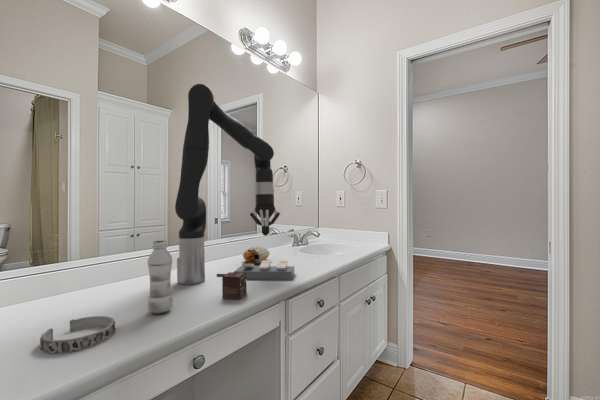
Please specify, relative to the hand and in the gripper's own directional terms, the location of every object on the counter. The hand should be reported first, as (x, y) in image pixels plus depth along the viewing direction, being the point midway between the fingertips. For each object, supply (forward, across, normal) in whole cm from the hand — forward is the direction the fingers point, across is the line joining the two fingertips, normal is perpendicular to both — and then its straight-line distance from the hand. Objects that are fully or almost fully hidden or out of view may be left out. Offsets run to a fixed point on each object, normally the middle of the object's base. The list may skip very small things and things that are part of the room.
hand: (265, 235), depth 119 cm
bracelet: (+17, -32, -56) cm, 67 cm away
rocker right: (+13, +7, -2) cm, 15 cm away
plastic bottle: (+17, -22, -40) cm, 49 cm away
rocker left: (+13, -7, -2) cm, 15 cm away
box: (+17, -5, -26) cm, 31 cm away
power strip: (+17, -5, -2) cm, 17 cm away
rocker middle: (+13, 0, -2) cm, 13 cm away
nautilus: (+17, -12, +22) cm, 30 cm away
